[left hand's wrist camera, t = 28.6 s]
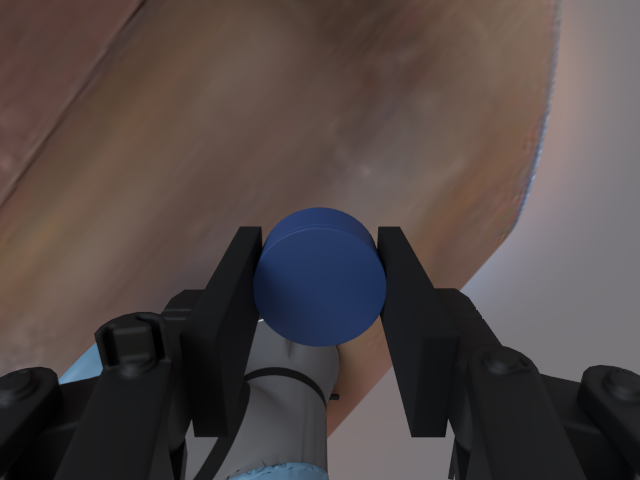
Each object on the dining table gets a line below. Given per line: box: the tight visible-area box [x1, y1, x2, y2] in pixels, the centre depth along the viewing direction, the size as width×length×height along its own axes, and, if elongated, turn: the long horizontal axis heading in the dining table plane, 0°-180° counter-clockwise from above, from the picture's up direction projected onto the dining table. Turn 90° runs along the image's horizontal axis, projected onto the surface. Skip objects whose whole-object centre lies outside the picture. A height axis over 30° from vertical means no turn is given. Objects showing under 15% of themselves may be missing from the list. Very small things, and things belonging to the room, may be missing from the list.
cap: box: [253, 208, 387, 347], centre depth 13 cm, size 4×4×2 cm
